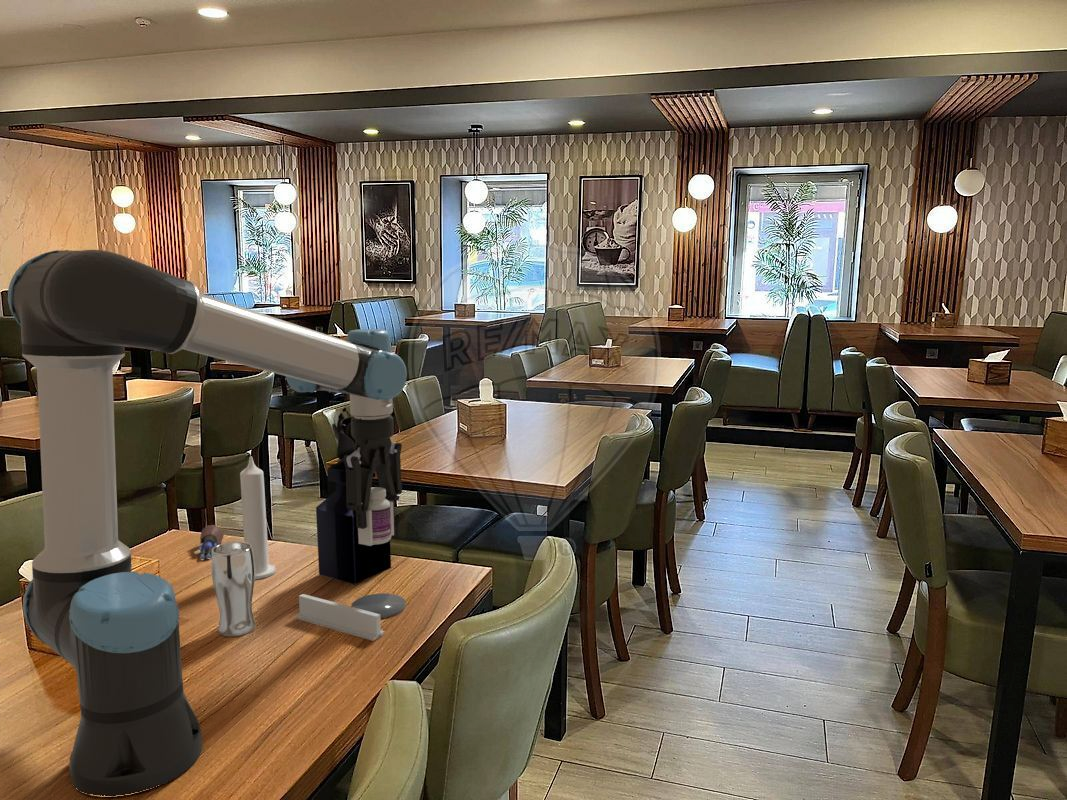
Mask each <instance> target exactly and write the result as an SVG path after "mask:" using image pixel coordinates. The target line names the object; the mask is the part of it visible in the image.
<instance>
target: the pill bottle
mask: <svg viewBox="0 0 1067 800" xmlns="http://www.w3.org/2000/svg"><path fill="white" fill-rule="evenodd" d="M385 497H386V489H385V488H381V487H380V486H378V487H377V486H375V487H372V486H371V493H370V500H369V507H368V510H372V532H373V544H383V543H386V542H388V541H389V540H390V541H391V539H392V536H391V516H390V502H389V501H388V500H387V499H385ZM361 504H362V503H361Z"/></svg>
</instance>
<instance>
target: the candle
mask: <svg viewBox="0 0 1067 800" xmlns="http://www.w3.org/2000/svg"><path fill="white" fill-rule="evenodd" d="M264 475H265V474H264V471H263V470H262V469H261V468H259V467H258V466H257V465H256V464H255V462H254V459H253V456H249V457H248V464H247V466H246V467H245V468H244V469H243V470H241V471H240V473H239V479H240V494H241V510H242V511H241V513H242V527H243V529H242V530H243V542H248V543H250V544H251V545H252V552H253V558H254V567H255V578H254V580H262V579H266V578H269V577H270V576H271V577H272V575H274V574H275V573H276V571H277V570H276V566H275V565H274V564H270V563H269V562H270V561H269V560H270V559H269V547H268V546H269V543H268V542H269V541H268V529H267V528H268V527H267V511H266V496H265V495H266V493H265V477H264Z"/></svg>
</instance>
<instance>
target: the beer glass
mask: <svg viewBox="0 0 1067 800" xmlns="http://www.w3.org/2000/svg"><path fill="white" fill-rule="evenodd" d="M210 560H211V567H210V568H211V580H212V586H213V590H214V592H215V593H214V594H215V597H216V601H217V604H218V610H219V621H218V622H219V623H218V634H219V635H220V636H223V637H227V638H230V637H231V638H235V637H241V636H244V635H247V634H249V633H252V632H253V631H254V630H255V628H256V621H255V617H254V614H253V606H252V605H253V604H252V603H253V594H254V587H255V579H254V578H255V567H254V558H253V552H252V545H251V544H250V543H248V542H244V541H241V540H240V541H236V540H235V541H228V542H223V543H221V544H220V545H218V544H217V546H215V547H213V548H212V550H211V559H210Z"/></svg>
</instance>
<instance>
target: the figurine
mask: <svg viewBox="0 0 1067 800" xmlns="http://www.w3.org/2000/svg"><path fill="white" fill-rule="evenodd" d="M222 531H223V530H222V529H221V527H219V526H217V525H216V524H211V525H206V526H205V527H204V528H203V529H202V530H201V533H200V538H199V541H200V542H199V544H200V546H199V547H198V548H197V550H195V551H194V552H193V554H194V555H198V554H200V556H199V560H200V559H204V558H205V559H206V558H211V559H212V551H211V550H212V548H213V547H215V546H217V545H220V544H222V541H223V539H224V533H223V532H222ZM205 554H206V555H205ZM205 559H204V560H205Z"/></svg>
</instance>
